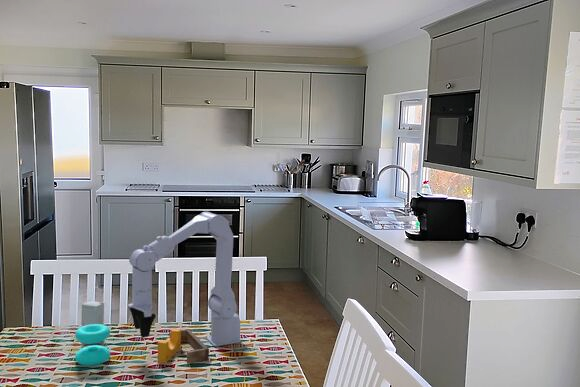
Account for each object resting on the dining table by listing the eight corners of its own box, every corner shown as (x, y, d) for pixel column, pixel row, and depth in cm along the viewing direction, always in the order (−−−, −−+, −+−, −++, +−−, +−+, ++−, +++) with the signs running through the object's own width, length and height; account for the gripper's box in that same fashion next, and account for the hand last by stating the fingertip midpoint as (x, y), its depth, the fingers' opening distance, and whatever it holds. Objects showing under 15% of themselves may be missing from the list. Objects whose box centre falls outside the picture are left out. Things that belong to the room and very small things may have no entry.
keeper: (188, 338, 186) (188, 328, 185) (208, 359, 169) (208, 348, 169) (169, 341, 182) (169, 331, 182) (187, 363, 166) (188, 352, 166)
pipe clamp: (168, 347, 179) (168, 328, 178) (180, 348, 178) (180, 329, 177) (152, 362, 167) (152, 341, 166) (165, 363, 166) (165, 343, 165)
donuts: (117, 325, 168) (94, 336, 159) (117, 357, 169) (94, 369, 160) (91, 320, 172) (67, 331, 162) (91, 351, 173) (67, 363, 164)
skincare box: (80, 339, 182) (80, 304, 181) (88, 334, 186) (88, 300, 185) (96, 342, 180) (96, 306, 179) (104, 337, 185) (104, 302, 183)
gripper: (123, 284, 171) (123, 326, 172) (134, 297, 158) (134, 342, 159) (145, 282, 174) (145, 323, 175) (158, 294, 161) (158, 339, 163)
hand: (141, 332), depth 168 cm, fingers open, 7 cm apart
